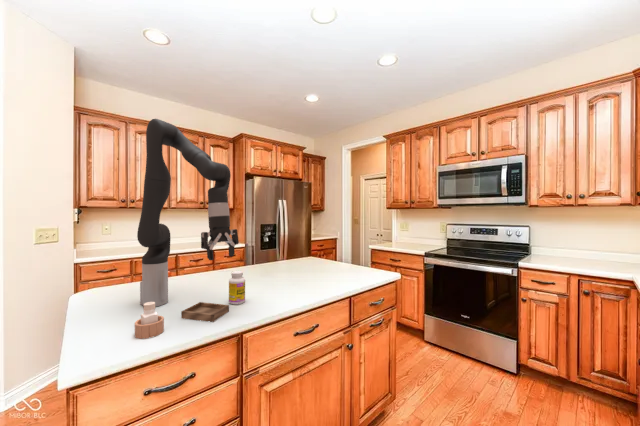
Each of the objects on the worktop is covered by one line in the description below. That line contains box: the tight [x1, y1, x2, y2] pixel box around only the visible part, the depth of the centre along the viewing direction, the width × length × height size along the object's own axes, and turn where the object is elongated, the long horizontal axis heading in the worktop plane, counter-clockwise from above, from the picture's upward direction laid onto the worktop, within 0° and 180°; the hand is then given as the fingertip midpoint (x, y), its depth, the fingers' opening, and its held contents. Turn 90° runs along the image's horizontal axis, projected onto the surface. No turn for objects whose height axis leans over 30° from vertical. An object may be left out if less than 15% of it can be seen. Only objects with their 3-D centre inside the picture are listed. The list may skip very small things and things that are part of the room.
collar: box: [134, 315, 165, 340], centre depth 86 cm, size 8×8×4 cm
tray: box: [180, 301, 230, 323], centre depth 101 cm, size 13×10×2 cm
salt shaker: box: [140, 302, 159, 325], centre depth 86 cm, size 4×4×10 cm
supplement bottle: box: [228, 270, 246, 305], centre depth 114 cm, size 7×7×13 cm
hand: (221, 258), depth 102 cm, fingers open, 8 cm apart
